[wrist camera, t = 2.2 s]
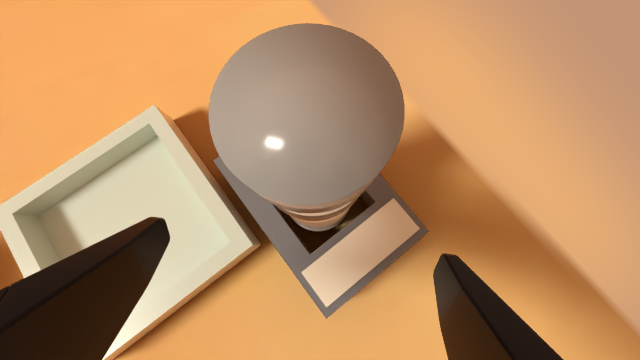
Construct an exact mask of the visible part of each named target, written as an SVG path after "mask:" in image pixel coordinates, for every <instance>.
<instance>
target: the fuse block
mask: <svg viewBox="0 0 640 360" xmlns="http://www.w3.org/2000/svg"><path fill="white" fill-rule="evenodd" d="M213 162H214V163H215V165H216V166H217V167H218V169H219V170H220V171H221V173H222V174H223V176H224V177H225V178H226V180H227V181H228V183H229V184H230V185H231V187H232V188H233V190H234V191H235V192H236V194H237V195H238V197H239V198H240V199H241V201H242V202H243V203H244V205H245V206H246V208H247V209H248V210H249V212H250V213H251V215H252V216H253V217H254V219H255V220H256V222H257V223H258V224H259V226H260V227H261V229H262V230H263V231H264V233H265V234H266V235H267V237H268V238H269V240H270V241H271V242H272V244H273V245H274V247H275V248H276V249H277V251H278V252H279V254H280V255H281V256H282V258H283V259H284V261H285V262H286V263H287V265H288V266H289V267H290V269H291V270H292V272H293V273H294V274H295V276H296V277H297V279H298V280H299V281H300V283H301V284H302V286H303V287H304V288H305V290H306V291H307V293H308V294H309V295H310V297H311V298H312V299H313V301H314V302H315V304H316V305H317V306H318V308H319V309H320V311H321V312H322V313H323V315H324V316H325V318H326V319H327V318H328V317H329V316H330V315H331V314H333V313H334V312H335V311H336V310H337V309H338V308H340V307H341V306H342V305H343V304H344V303H346V302H347V301H348V300H349V299H350V298H351V297H353V296H354V295H355V294H356V293H357V292H359V291H360V290H361V289H362V288H363V287H364V286H366V285H367V284H368V283H369V282H370V281H372V280H373V279H374V278H375V277H376V276H377V275H379V274H380V273H381V272H382V271H383V270H384V269H386V268H387V267H388V266H389V265H390V264H392V263H393V262H394V261H395V260H396V259H397V258H399V257H400V256H401V255H402V254H403V253H405V252H406V251H407V250H408V249H409V248H410V247H412V246H413V245H414V244H415V243H416V242H417V241H419V240H420V239H421V238H422V237H423V236H425V235H426V234H427V233H428V232H429V230H428V229H427V228H426V227H425V226H424V225H423V223H422V222H421V221H420V220H419V219H418V218H417V217H416V215H415V214H414V213H413V212H412V211H411V210H410V208H409V207H408V206H407V205H406V204H405V203H404V201H403V200H402V199H401V198H400V197H399V196H398V194H397V193H396V192H395V191H394V190H393V189H392V187H391V186H390V185H389V184H388V183H387V182H386V180H385V179H384V178H383V177H382V176H381V175H380V173H379V174H378V175H377V177H376V178H375V179H374V180H373V182H372V183H371V184H370V185H369V187H368V188H367V189H366V190H365V191H364V192H363V193H362V194H361V195H360V197H361V198H362V199H363V200H364V202H365V203H366V204H367V205H368V206H369V208H367V209H366V210H365V211H364V212H362V213H361V214H360V215H359V216H357V217H356V218H355V219H354V220H352V221H351V222H350V223H349V224H347V225H346V226H345V227H344V228H342V229H341V230H340V231H339V232H337V233H336V234H335V235H334V236H332V237H331V238H330V239H329V240H327V241H326V242H325V243H324V244H322V245H321V246H320V247H319V248H317V249H316V250H315V251H314V252H312V253H311V252H310V251H309V249H308V248H307V247H306V245H305V244H304V243H303V241H302V240H301V239H300V237H299V236H298V235H297V233H296V232H295V231H294V229H293V228H292V227H291V225H290V224H289V223H288V221H287V220H286V218H285V217H284V216H283V214H282V213H281V212H280V210H279V209H278V208H277V206H275V205H273V204H271V203H270V202H268V201H267V200H265V199H264V198H262V197H261V196H260V195H258V194H257V193H256V192H255V191H253V190H252V189H251V188H249V187H248V186H247V185H245V184H244V183H243V182H242V181H240V180H239V179H238V178H237V177H236V176H235V175H234V174H233V173H232V172H231V171H230V170H229V169H228V167H227V166H226V165H225V164H224V162H223V161H222V159H221V157H220V156H219V157H218V158H216V159H215V160H213Z"/></svg>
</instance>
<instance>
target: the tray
mask: <svg viewBox="0 0 640 360" xmlns="http://www.w3.org/2000/svg"><path fill="white" fill-rule="evenodd" d="M148 217H160V218H164V219H165V221H166V224H167V227H168V230H169V234H170V242H169V244H168V246H167V248H166V251H165V253H164V255H163V257H162V259H161V261H160V263H159V265H158V267H157V269H156V271H155V273H154V275H153V277H152V279H151V281H150V283H149V285H148V287H147V288H146V290H145V292H144V293H143V295H142V297H141V298H140V300H139V301H138V303H137V305H136V306H135V308H134V309H133V311H132V313H131V314H130V316H129V317H128V319H127V321H126V322H125V324H124V326H123V327H122V329H121V330H120V332H119V334H118V335H117V337H116V338H115V340H114V342H113V343H112V345H111V347H110V348H109V350H108V351H107V353H106V355H105V356H104V358H103V359H102V360H113V359H114V358H116V357H117V356H118V355H120V354H121V353H122V352H123V351H125V350H126V349H127V348H129V347H130V346H131V345H132V344H134V343H135V342H136V341H138V340H139V339H140V338H141V337H143V336H144V335H145V334H147V333H148V332H149V331H151V330H152V329H153V328H154V327H156V326H157V325H158V324H160V323H161V322H162V321H163V320H165V319H166V318H167V317H169V316H170V315H171V314H173V313H174V312H175V311H176V310H178V309H179V308H180V307H182V306H183V305H184V304H185V303H187V302H188V301H189V300H191V299H192V298H193V297H195V296H196V295H197V294H198V293H200V292H201V291H202V290H204V289H205V288H206V287H207V286H209V285H210V284H211V283H213V282H214V281H215V280H217V279H218V278H219V277H220V276H222V275H223V274H224V273H226V272H227V271H228V270H229V269H231V268H232V267H233V266H235V265H236V264H237V263H239V262H240V261H241V260H242V259H244V258H245V257H246V256H248V255H249V254H250V253H251V252H253V251H254V250H255V249H257V248H258V247H259V246H261V243H260V242H259V241H258V239H257V238H256V236H255V235H254V234H253V232H252V231H251V229H250V228H249V226H248V225H247V224H246V222H245V221H244V219H243V218H242V217H241V215H240V214H239V212H238V211H237V210H236V208H235V207H234V205H233V204H232V202H231V201H230V200H229V198H228V197H227V195H226V194H225V193H224V191H223V190H222V188H221V187H220V186H219V184H218V183H217V181H216V180H215V178H214V177H213V176H212V174H211V173H210V171H209V170H208V169H207V167H206V166H205V164H204V163H203V162H202V160H201V159H200V157H199V156H198V155H197V153H196V152H195V150H194V149H193V147H192V146H191V145H190V143H189V142H188V140H187V139H186V138H185V136H184V135H183V133H182V132H181V131H180V129H179V128H178V126H177V125H176V123H175V122H174V121H173V119H171V118H170V117H169V116H168V115H166V114H165V113H164V112H163V111H162V110H160V109H159V108H158V107H157V106H156V105H153V106H152V107H150V108H148V109H147V110H145V111H144V112H142V113H141V114H139V115H138V116H136V117H135V118H133V119H132V120H130V121H129V122H127V123H125V124H124V125H122V126H121V127H119V128H118V129H116V130H115V131H113V132H112V133H110V134H109V135H107V136H105V137H104V138H102V139H101V140H99V141H98V142H96V143H95V144H93V145H92V146H90V147H89V148H87V149H86V150H84V151H82V152H81V153H79V154H78V155H76V156H75V157H73V158H72V159H70V160H69V161H67V162H66V163H64V164H62V165H61V166H59V167H58V168H56V169H55V170H53V171H52V172H50V173H49V174H47V175H46V176H44V177H42V178H41V179H39V180H38V181H36V182H35V183H33V184H32V185H30V186H29V187H27V188H26V189H24V190H23V191H21V192H19V193H18V194H16V195H15V196H13V197H12V198H10V199H9V200H7V201H6V202H4V203H3V204H1V205H0V230H1V232H2V234H3V236H4V238H5V240H6V242H7V244H8V246H9V248H10V250H11V252H12V254H13V257H14V259H15V261H16V263H17V265H18V267H19V269H20V271H21V273H22V275H23V277H24V278H26V277H28V276H30V275H32V274H34V273H36V272H38V271H40V270H42V269H44V268H46V267H48V266H50V265H52V264H54V263H56V262H58V261H60V260H62V259H64V258H67V257H69V256H71V255H73V254H75V253H77V252H79V251H81V250H83V249H85V248H87V247H89V246H91V245H93V244H95V243H97V242H99V241H101V240H103V239H105V238H107V237H110V236H112V235H114V234H116V233H118V232H120V231H122V230H124V229H126V228H128V227H130V226H132V225H134V224H136V223H138V222H140V221H142V220H144V219H146V218H148Z"/></svg>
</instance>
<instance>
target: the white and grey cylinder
mask: <svg viewBox="0 0 640 360" xmlns="http://www.w3.org/2000/svg"><path fill="white" fill-rule="evenodd" d="M403 124H404V100H403V93H402V90H401V87H400V83H399V81H398V79H397V77H396V75H395V72H394V71H393V69H392V67H391V66H390V64H389V63H388V61H387V60H386V59H385V58H384V57H383V55H382V54H381V53H380V52H379V51H378V50H377V49H375V48H374V47H373V46H372V45H371V44H369V43H368V42H367V41H365V40H364V39H362V38H360V37H359V36H357V35H355V34H353V33H351V32H348V31H346V30H343V29H340V28H337V27H333V26H329V25H322V24H308V23H306V24H294V25H288V26H283V27H280V28H276V29H273V30H270V31H268V32H266V33H263V34H261V35H259V36H257V37H256V38H254V39H252V40H251V41H249V42H248V43H246V44H245V45H244V46H242V47H241V48H240V49H239V50H238V51H237V52H236V53H235V54H234V55H233V56H232V57H231V58H230V59H229V60H228V62H227V63H226V64H225V66H224V67H223V69H222V70H221V72H220V73H219V75H218V77H217V80H216V82H215V84H214V87H213V90H212V93H211V97H210V103H209V126H210V132H211V136H212V140H213V143H214V145H215V148H216V150H217V152H218V154H219V156H220V157H221V159H222V161H223V162H224V164H225V165H226V166H227V167H228V169H229V170H230V171H231V172H232V173H233V174H234V175H235V176H236V177H237V178H238V179H239V180H240V181H242V182H243V183H244V184H245V185H247V186H248V187H249V188H251V189H252V190H253V191H255V192H256V193H257V194H258V195H260V196H261V197H262V198H264V199H265V200H267V201H268V202H270V203H271V204H273V205H275V206H277V207H278V208H279V209H280V210H282V211H283V212H285V213H286V214H288V215H289V216H290V217H291V219H292V220H293V221H294V222H295V223H297V224H298V225H299V226H301V227H302V228H304V229H306V230H309V231H313V232H323V231H327V230H330V229H332V228H334V227H336V226H337V225H338V224H339V223H340V222H341V221H342V220H343V219H344V217H345V216H346V214H347V213H348V210H349V208H350V207H351V206H352V205H353V204H354V202H355V201H356V200H357V199H358V197H359V196H360V195H361V194H362V193H363V192H364V191H365V190H366V189H367V188H368V187H369V185H370V184H371V183H372V182H373V180H374V179H375V178H376V177H377V175H378V174H379V173H380V172H381V170H382V169H383V168H384V166H385V165H386V164H387V163H388V161H389V159H390V158H391V156H392V155H393V153H394V152H395V149H396V147H397V145H398V143H399V140H400V137H401V133H402V130H403Z"/></svg>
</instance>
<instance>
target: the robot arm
mask: <svg viewBox="0 0 640 360" xmlns="http://www.w3.org/2000/svg"><path fill="white" fill-rule="evenodd" d="M169 242H170V234H169V230H168V227H167V224H166V221H165V219H164V218H160V217H148V218H146V219H144V220H142V221H140V222H138V223H136V224H134V225H132V226H130V227H128V228H126V229H124V230H122V231H120V232H118V233H116V234H114V235H112V236H110V237H107V238H105V239H103V240H101V241H99V242H97V243H95V244H93V245H91V246H89V247H87V248H85V249H83V250H81V251H79V252H77V253H75V254H73V255H71V256H69V257H67V258H64V259H62V260H60V261H58V262H56V263H54V264H52V265H50V266H48V267H46V268H44V269H42V270H40V271H38V272H36V273H34V274H32V275H30V276H28V277H26V278H24V279H21V280H19V281H17V282H15V283H13V284H12V285H11V286H7V287H5V288H3V289H1V290H0V360H102V359H103V358H104V356H105V355H106V353H107V351H108V350H109V348H110V347H111V345H112V343H113V342H114V340H115V338H116V337H117V335H118V334H119V332H120V330H121V329H122V327H123V326H124V324H125V322H126V321H127V319H128V317H129V316H130V314H131V313H132V311H133V309H134V308H135V306H136V305H137V303H138V301H139V300H140V298H141V297H142V295H143V293H144V292H145V290H146V288H147V287H148V285H149V283H150V281H151V279H152V277H153V275H154V273H155V271H156V269H157V267H158V265H159V263H160V261H161V259H162V257H163V255H164V253H165V251H166V248H167V246H168V244H169ZM433 278H434V285H435V293H436V300H437V308H438V315H439V322H440V327H441V332H442V336H443V340H444V344H445V348H446V352H447V356H448V360H563V359H562V358H561V357H560V356H559V355H558V354H557V353H556V352H555V351H554V350H553V349H552V348H551V347H550V346H549V345H548V344H547V343H546V342H545V341H544V340H543V339H542V338H541V337H540V336H539V335H538V334H537V333H536V332H535V331H534V330H533V329H532V328H531V327H530V326H528V325H527V324H526V323H525V322H524V321H523V320H522V319H521V318H520V317H519V316H518V315H517V314H516V313H515V312H514V311H513V310H512V309H511V308H510V307H509V306H508V305H507V304H506V303H505V302H504V301H503V300H502V299H501V298H500V297H499V296H498V295H497V294H496V293H495V292H494V291H493V290H492V289H491V288H490V287H489V286H488V285H487V284H486V283H485V282H484V281H483V280H481V279H480V278H479V277H478V276H477V275H476V274H475V273H474V272H473V271H472V270H471V269H470V268H469V267H468V266H467V265H466V264H465V263H464V262H463V261H462V260H461V259H460V258H459V257H458V256H456V255H453V254H442V255H441V256H440V258H439V261H438V263H437V265H436V267H435V270H434V274H433Z"/></svg>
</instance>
